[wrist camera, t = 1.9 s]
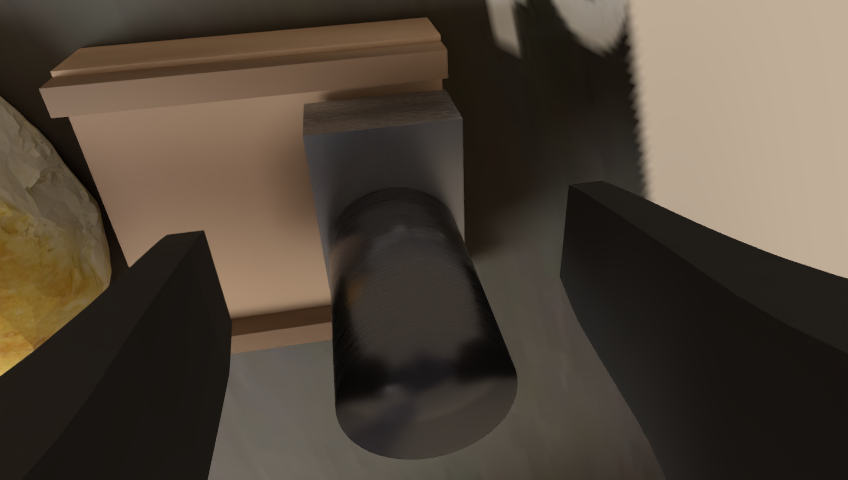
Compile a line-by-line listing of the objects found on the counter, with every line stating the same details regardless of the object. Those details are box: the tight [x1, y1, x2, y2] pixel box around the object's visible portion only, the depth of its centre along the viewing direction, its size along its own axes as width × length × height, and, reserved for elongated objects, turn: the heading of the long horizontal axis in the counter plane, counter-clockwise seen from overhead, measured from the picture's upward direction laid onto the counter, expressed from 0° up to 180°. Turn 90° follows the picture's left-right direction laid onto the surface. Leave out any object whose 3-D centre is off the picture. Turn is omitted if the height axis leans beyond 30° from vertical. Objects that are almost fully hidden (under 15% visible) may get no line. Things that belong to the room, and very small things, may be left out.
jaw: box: [303, 89, 517, 459], centre depth 10 cm, size 5×3×5 cm, turn 3°
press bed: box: [39, 17, 448, 354], centre depth 12 cm, size 6×7×2 cm
